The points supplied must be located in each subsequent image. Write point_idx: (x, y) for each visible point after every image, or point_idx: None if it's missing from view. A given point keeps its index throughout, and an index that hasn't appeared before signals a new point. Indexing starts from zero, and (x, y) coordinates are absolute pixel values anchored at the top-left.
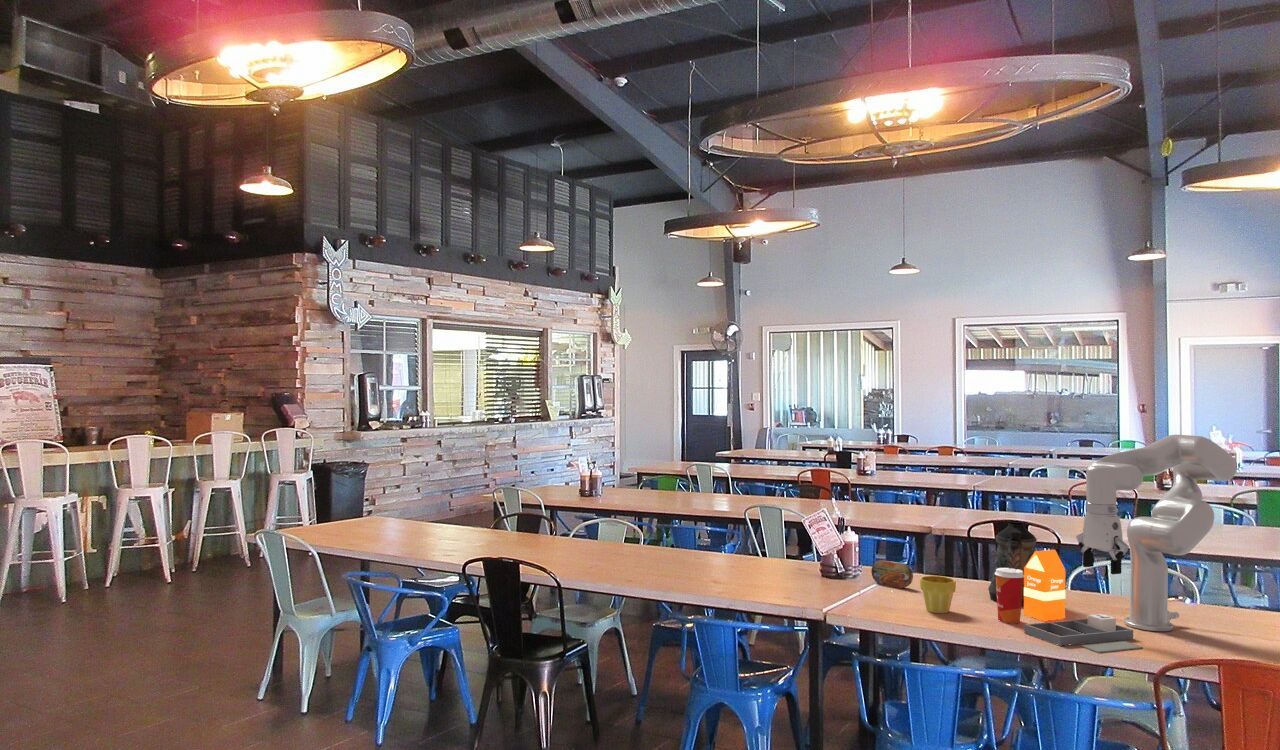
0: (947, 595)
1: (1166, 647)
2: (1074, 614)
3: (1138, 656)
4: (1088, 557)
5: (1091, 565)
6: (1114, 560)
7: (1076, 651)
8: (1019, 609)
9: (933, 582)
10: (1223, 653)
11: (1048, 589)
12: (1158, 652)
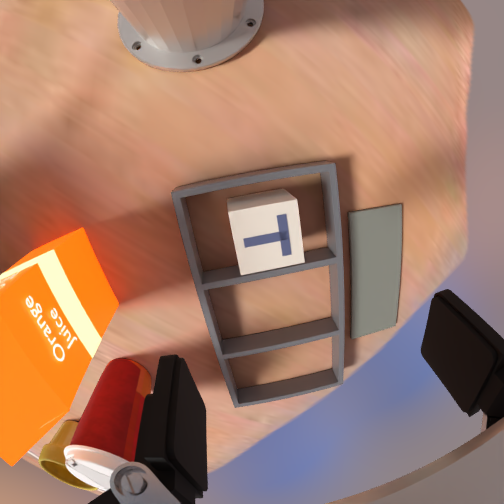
0: None
1: (402, 131)
2: (41, 170)
3: (433, 256)
4: (197, 452)
5: (187, 375)
6: (483, 395)
7: (371, 356)
8: (141, 392)
9: (96, 489)
10: (445, 47)
11: (78, 347)
12: (427, 188)
